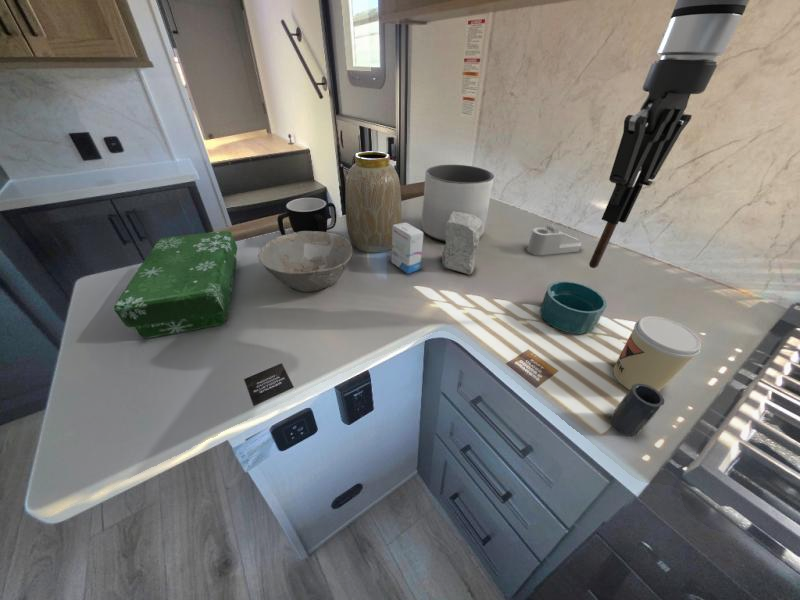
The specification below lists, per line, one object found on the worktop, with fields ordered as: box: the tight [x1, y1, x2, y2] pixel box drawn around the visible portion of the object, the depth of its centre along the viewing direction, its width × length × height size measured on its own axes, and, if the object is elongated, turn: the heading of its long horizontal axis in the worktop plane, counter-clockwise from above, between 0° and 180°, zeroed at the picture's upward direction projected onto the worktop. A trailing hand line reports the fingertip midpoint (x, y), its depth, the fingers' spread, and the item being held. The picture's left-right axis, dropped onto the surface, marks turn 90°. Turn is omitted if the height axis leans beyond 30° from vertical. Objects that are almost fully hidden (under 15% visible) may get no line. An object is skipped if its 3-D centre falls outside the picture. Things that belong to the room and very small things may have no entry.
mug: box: [277, 197, 337, 236], centre depth 101 cm, size 16×16×12 cm
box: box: [113, 230, 238, 339], centre depth 76 cm, size 32×18×10 cm, turn 17°
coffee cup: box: [613, 315, 702, 393], centre depth 57 cm, size 9×9×12 cm
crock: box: [609, 384, 665, 437], centre depth 50 cm, size 4×4×8 cm
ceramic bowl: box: [257, 231, 353, 293], centre depth 81 cm, size 22×23×10 cm
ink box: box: [391, 222, 424, 275], centre depth 89 cm, size 9×5×12 cm, turn 36°
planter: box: [421, 164, 495, 243], centre depth 107 cm, size 22×22×20 cm
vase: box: [344, 151, 402, 254], centre depth 96 cm, size 17×17×27 cm
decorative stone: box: [441, 211, 483, 276], centre depth 89 cm, size 10×9×15 cm
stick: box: [588, 166, 642, 269], centre depth 58 cm, size 2×2×20 cm
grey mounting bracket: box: [526, 223, 582, 256], centre depth 101 cm, size 6×18×8 cm, turn 103°
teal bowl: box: [539, 280, 607, 335], centre depth 73 cm, size 12×12×6 cm
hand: (613, 220), depth 58 cm, fingers closed on stick, 1 cm apart
